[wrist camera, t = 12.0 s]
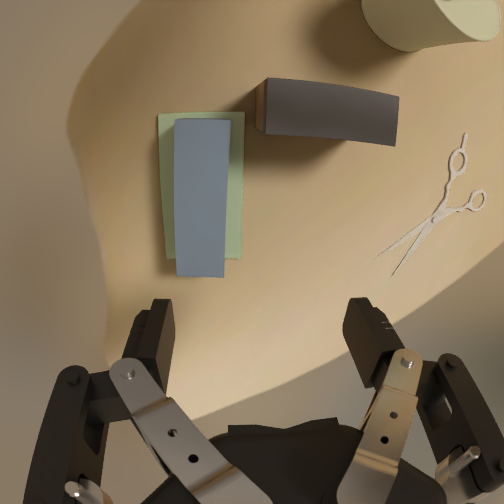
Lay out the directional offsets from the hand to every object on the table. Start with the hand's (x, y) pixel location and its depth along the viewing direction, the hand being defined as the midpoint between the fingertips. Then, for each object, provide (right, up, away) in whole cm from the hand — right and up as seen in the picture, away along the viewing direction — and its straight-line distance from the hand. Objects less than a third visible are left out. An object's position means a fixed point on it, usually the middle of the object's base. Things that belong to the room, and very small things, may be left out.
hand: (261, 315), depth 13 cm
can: (+15, +28, +9) cm, 33 cm away
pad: (-5, +9, +16) cm, 19 cm away
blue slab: (-5, +9, +16) cm, 19 cm away
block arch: (+5, +16, +13) cm, 22 cm away
